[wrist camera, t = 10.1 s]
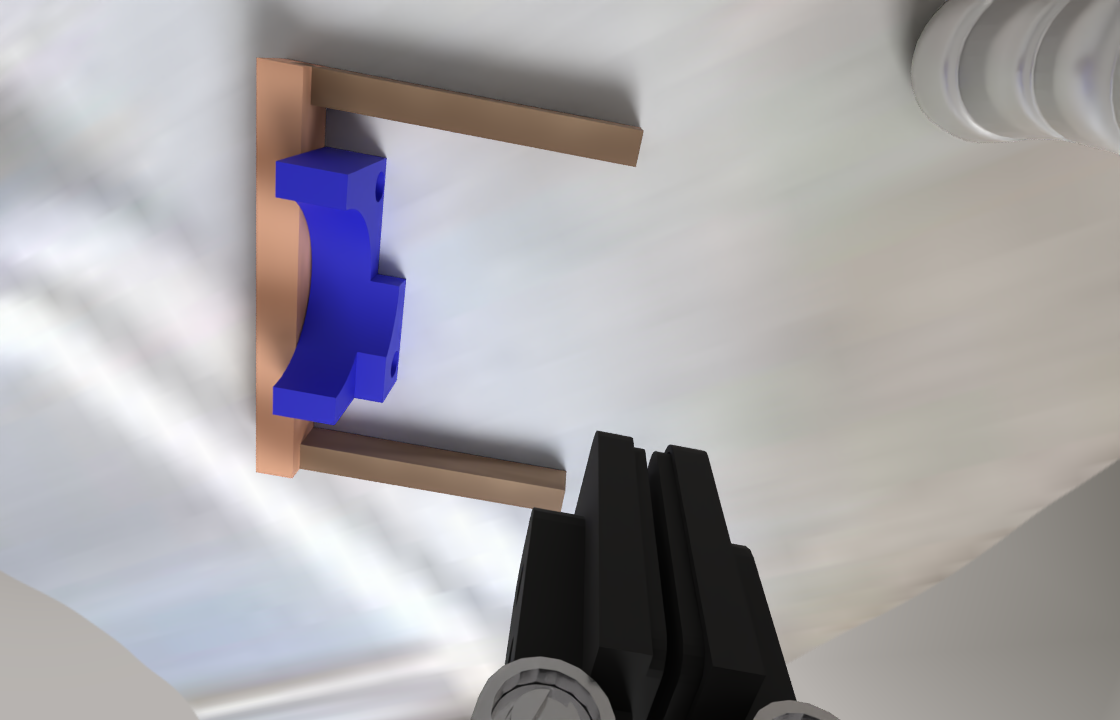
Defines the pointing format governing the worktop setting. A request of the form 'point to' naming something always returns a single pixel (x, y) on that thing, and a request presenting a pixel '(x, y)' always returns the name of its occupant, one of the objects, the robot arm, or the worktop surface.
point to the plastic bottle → (1022, 71)
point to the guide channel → (286, 266)
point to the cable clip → (341, 287)
